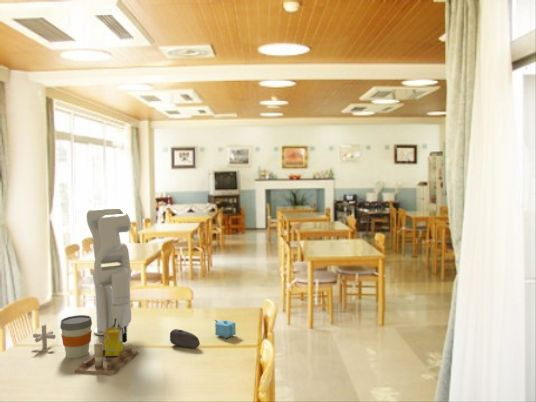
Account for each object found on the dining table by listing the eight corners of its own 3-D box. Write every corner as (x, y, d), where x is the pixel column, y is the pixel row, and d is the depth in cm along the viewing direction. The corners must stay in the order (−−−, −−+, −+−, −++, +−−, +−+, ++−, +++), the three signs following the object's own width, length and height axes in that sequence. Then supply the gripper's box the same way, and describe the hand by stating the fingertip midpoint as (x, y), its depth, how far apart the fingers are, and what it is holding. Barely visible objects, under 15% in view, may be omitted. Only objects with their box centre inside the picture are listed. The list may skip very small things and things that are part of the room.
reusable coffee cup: (99, 350, 213) (98, 316, 212) (79, 361, 201) (77, 325, 200) (75, 347, 217) (74, 314, 216) (54, 357, 205) (53, 322, 204)
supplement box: (108, 352, 206) (107, 327, 206) (123, 352, 207) (122, 326, 206) (104, 358, 201) (103, 331, 200) (119, 357, 201) (118, 331, 200)
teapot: (210, 335, 230) (209, 319, 230) (219, 331, 235) (218, 316, 235) (229, 340, 223) (228, 324, 222) (238, 336, 228) (237, 320, 227)
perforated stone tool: (203, 348, 214) (202, 332, 214) (195, 352, 210) (195, 336, 209) (176, 342, 222) (176, 327, 221) (168, 346, 217) (168, 330, 217)
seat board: (103, 351, 211) (103, 328, 210) (138, 353, 208) (137, 330, 207) (74, 372, 189) (73, 346, 189) (113, 375, 186) (112, 349, 186)
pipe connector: (47, 352, 211) (46, 329, 211) (27, 350, 213) (26, 328, 213) (61, 344, 221) (60, 322, 220) (42, 342, 223) (41, 321, 222)
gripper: (121, 295, 218) (122, 335, 219) (104, 304, 203) (105, 347, 204) (137, 295, 216) (138, 336, 217) (121, 305, 202) (122, 348, 203)
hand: (122, 341), depth 211 cm, fingers closed
